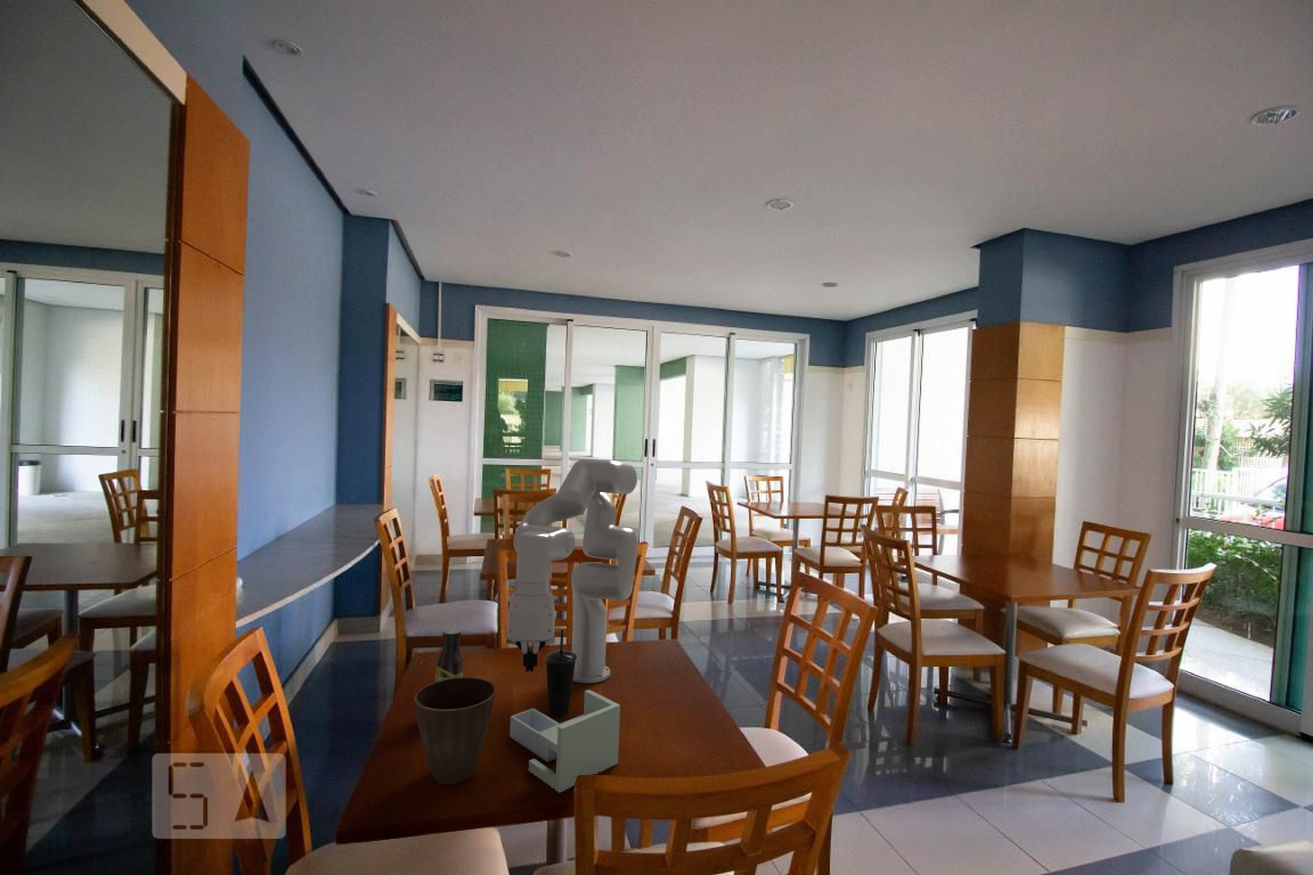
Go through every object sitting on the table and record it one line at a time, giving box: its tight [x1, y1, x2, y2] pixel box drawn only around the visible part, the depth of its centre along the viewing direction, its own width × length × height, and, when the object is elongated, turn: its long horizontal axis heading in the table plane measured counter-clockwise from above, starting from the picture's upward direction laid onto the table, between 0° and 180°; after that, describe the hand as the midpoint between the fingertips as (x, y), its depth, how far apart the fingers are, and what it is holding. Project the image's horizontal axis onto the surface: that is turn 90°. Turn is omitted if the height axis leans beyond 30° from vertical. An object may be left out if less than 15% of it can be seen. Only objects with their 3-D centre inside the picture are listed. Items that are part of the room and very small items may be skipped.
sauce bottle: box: [434, 627, 464, 683], centre depth 139 cm, size 6×6×20 cm
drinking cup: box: [544, 629, 577, 718], centre depth 142 cm, size 8×8×20 cm
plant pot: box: [414, 676, 496, 786], centre depth 114 cm, size 15×15×16 cm
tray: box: [509, 707, 560, 763], centre depth 127 cm, size 14×6×4 cm, turn 47°
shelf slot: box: [528, 689, 621, 794], centre depth 118 cm, size 10×15×12 cm, turn 136°
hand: (530, 669), depth 130 cm, fingers closed
